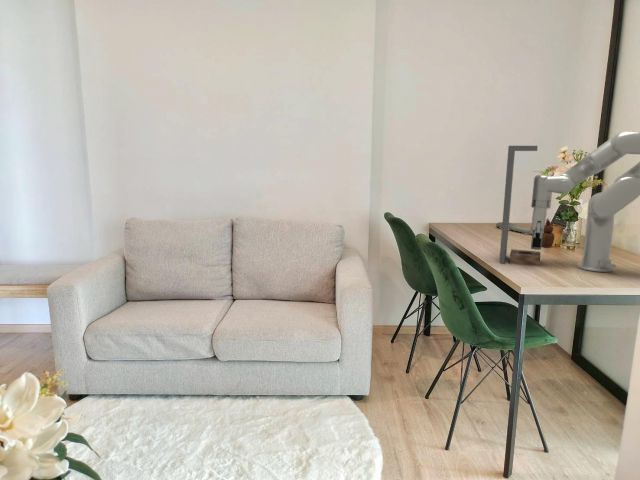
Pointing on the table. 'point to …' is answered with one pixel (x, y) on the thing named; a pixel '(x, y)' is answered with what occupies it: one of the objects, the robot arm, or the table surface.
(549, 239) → the wooden figurine
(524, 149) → the gallows post stand
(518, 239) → the table surface
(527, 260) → the socket block
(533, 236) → the peg
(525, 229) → the elongated rock
